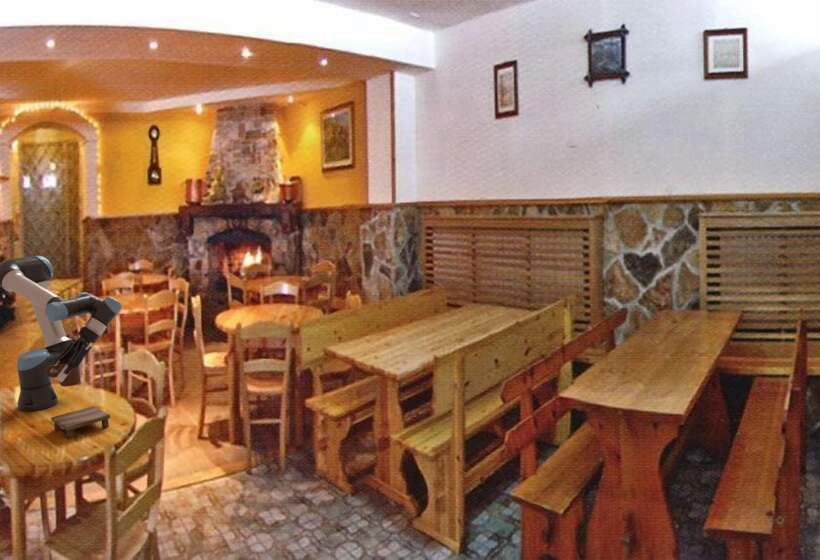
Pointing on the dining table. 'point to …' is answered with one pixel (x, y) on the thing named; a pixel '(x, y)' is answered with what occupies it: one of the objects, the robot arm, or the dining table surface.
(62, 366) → the mug
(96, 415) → the brown wooden bench
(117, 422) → the dining table surface
